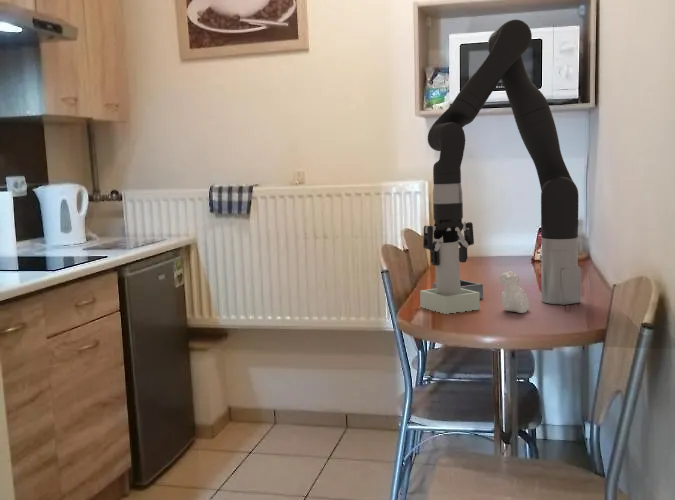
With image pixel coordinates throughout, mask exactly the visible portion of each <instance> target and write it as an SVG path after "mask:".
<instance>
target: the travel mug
mask: <svg viewBox="0 0 675 500" xmlns="http://www.w3.org/2000/svg"><path fill="white" fill-rule="evenodd" d="M442 236H443V244H441V246H440V248H439V250H438V251H439V265H438V266H435V265H434V268H435V270H434V271H435V282H436V291H437V294H439V295H443V296H452V295H459V294H461V287H460V279H461V272H460V271H461V270H460V261H459V248H460V246H459V245H458V238H457V237H458V234H457V231H445V230H438V232H437V231H434V233H433V238H435V239H440V238H441V237H442ZM436 243H437V242H436ZM436 243H435V244H436Z"/></svg>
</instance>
